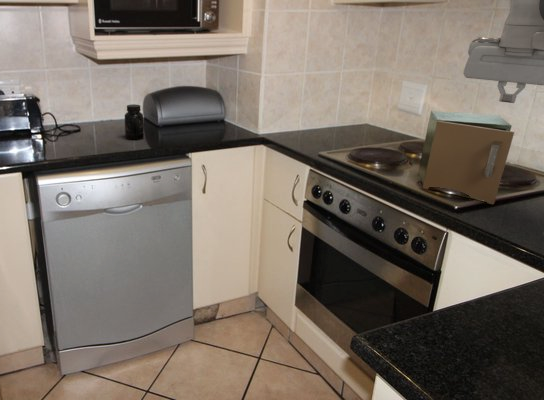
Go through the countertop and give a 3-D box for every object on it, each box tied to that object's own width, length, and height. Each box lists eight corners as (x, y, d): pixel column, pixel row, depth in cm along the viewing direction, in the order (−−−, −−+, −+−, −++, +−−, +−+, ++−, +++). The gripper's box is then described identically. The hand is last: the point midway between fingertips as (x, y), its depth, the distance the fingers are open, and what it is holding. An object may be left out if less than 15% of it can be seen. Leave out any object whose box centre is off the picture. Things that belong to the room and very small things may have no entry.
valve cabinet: (492, 195, 127) (511, 125, 120) (422, 187, 132) (437, 119, 125) (481, 180, 138) (499, 115, 131) (417, 173, 143) (431, 110, 135)
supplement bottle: (139, 134, 181) (139, 103, 176) (146, 139, 175) (145, 106, 170) (122, 136, 178) (121, 104, 173) (128, 141, 172) (127, 108, 168)
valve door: (489, 210, 117) (510, 136, 110) (416, 193, 127) (431, 124, 120) (494, 203, 122) (514, 131, 114) (423, 187, 132) (438, 120, 125)
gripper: (468, 37, 109) (454, 97, 115) (579, 42, 97) (558, 110, 102) (474, 36, 114) (461, 94, 119) (582, 41, 101) (561, 106, 106)
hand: (506, 102), depth 110 cm, fingers closed
